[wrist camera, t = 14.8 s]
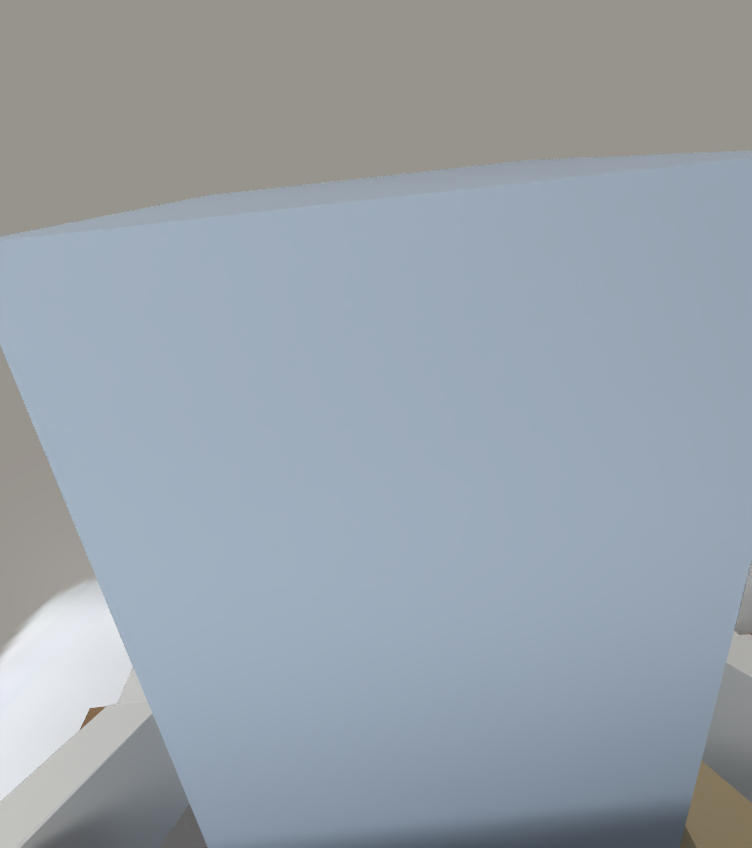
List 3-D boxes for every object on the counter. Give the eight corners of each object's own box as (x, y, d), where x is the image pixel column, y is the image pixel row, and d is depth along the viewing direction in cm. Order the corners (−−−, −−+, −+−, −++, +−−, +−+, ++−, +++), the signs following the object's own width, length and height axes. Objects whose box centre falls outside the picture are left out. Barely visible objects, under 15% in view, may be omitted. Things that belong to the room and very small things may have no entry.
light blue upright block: (517, 741, 14) (529, 159, 8) (619, 1087, 9) (857, 145, 3) (330, 762, 14) (208, 195, 8) (320, 1120, 9) (-42, 244, 3)
